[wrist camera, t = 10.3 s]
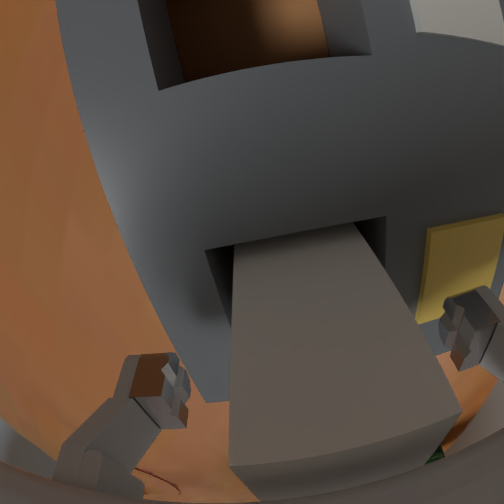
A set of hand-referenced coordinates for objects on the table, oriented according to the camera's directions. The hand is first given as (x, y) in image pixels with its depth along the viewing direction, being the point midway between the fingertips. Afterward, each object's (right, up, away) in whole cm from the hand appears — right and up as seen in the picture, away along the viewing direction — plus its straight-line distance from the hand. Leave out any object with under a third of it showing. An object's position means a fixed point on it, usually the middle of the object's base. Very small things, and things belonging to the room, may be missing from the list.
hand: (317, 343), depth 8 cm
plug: (0, +3, +5) cm, 6 cm away
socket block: (+1, +7, +2) cm, 8 cm away
